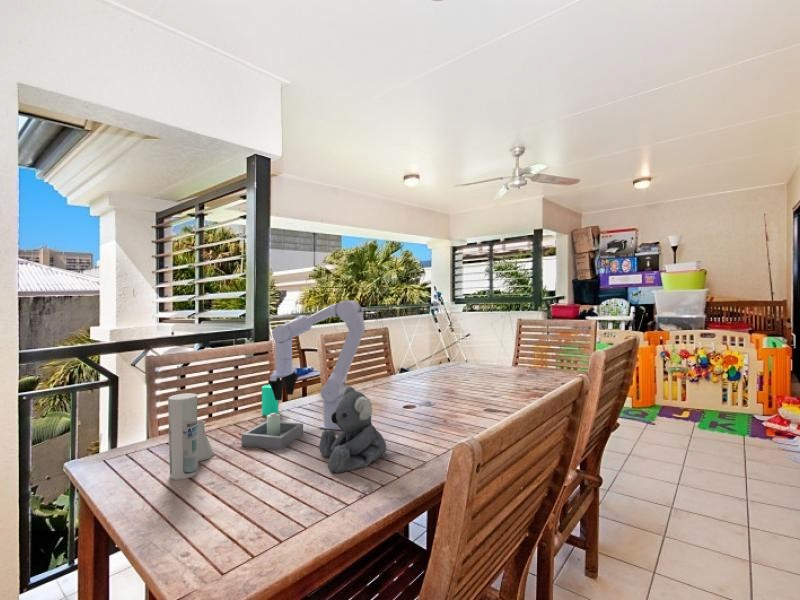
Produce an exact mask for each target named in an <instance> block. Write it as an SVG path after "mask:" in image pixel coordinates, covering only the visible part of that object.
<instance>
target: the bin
mask: <svg viewBox="0 0 800 600" xmlns="http://www.w3.org/2000/svg"><path fill="white" fill-rule="evenodd" d="M301 435H302V436H303V435H304V423H301V422H299V423H298V422H289V421H288V422H287V421H280V436H272V435H267V420H266V421H263V422H261V423H259V424H258V425H256V426H254V427H252V428H250V429H249V430H246V431H245V432H243V433H241V446H242V447H251V448H259V447H260V448H261V449H269V448H270V450H278V449H280V451H281V450H283V449H284V448H286V447H287V446H289V445H290V444H292V443H293V442H294V441H296V440H297V439H299V438H300V437H301ZM298 437H299V438H298ZM295 439H296V440H295ZM291 442H292V443H291ZM260 448H259V449H260Z"/></svg>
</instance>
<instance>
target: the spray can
mask: <svg viewBox="0 0 800 600" xmlns="http://www.w3.org/2000/svg"><path fill="white" fill-rule="evenodd" d="M167 405H168V406H167V407H168V411H167V412H168V443H169V444H168V445H169V447H168V448H169V449H168V451H169V455H168V459H169V478H170V479H171V480H176V481H177V480H179V481H180V480H185V479H188V478H192V477H194V476H195V475H196V474H197V473H198V470H199V469H198V468H199V465H198V458H197V421H198V395H197V393H191V392H188V393H187V392H186V393H178V394H174V395H171V396H169V397H168V398H167Z"/></svg>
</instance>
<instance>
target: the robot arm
mask: <svg viewBox="0 0 800 600" xmlns="http://www.w3.org/2000/svg"><path fill="white" fill-rule="evenodd" d="M331 317H332V318H337V317H338V318H339V319H341V321H343V323H345V325H346V327H347V329H348V332H347V335H346V337H345V340H344V343H343V345H342V348H341V350H340V353H339V355H338V358H337V360H336V363H335V366H334V368H333V370H332V373H331V375H330V376H329V377H328V379H327V381H326V383H325V384H324V385H323V386H322V388H321V389H320V396H321V398H322V405H323V406H322V408H323V409H322V412H323V414H322V417H323V423H322V424H320V425H319V426H318V428H319V429H324V430H325V429H326V430H338V431H342V430H341V429H340V428H339V427H338V425H337V424H334V423H333V422H332V419H331V417H332V414H333V413H334V412H335V411H336V409H337V406H338V404H339V403H340V402H341V400H342V398H343V397H342V392H343V389H344V388H345V387H347V386H346V383H347V379H348V374H349V371H350V368H351V366H352V362H354V357H355V355H356V353H357V351H358V348H359V346H360V343H361V341H362V338H363V336H364V333H365V329H366V327H365V321H364V310H363V308H362V306H361V305H360V304H359V302H358V301H357V300H353V299H351V300H342V301H340V302H337V303H334V304H331V305H328V306H326V307H325V308H322V309H320V310H319V311H317V312H315V313H313V314H311V315H309V316H308V315H305V314H303V315H302V314H298V315H296V316H295V318H294V319H292V320H290V321H289V320H287V321H285V322H284V324H280V325H277V326H275V327H274V328H273V330H272V334H271V335H272V336H271V337H272V338H273V340H274V343H275V345H274V346H275V347H274V350H275V352H274V353H275V354H274V355H275V359H274V361H275V370H272V374H270V375H269V379H268V381H267V384H268V385H269V384H270V386H271V388H272V390H273V393H274V397H275V400H278V401H282V399H283V391H284V387H285V393H286V395H288V396H292V395H293V394H294V390H295V386H296V382H297V380H298V378H299V377H300V375H299V373H298V372H297V371H298V370H297V369H298V368H297V367H293V339H294V338H295V337H297V336H301V335H302V334H304V333H306V332H308V331H311V329H312V326H313V325H315V324H317V323H319V322H321V321H324V320H327V319H328V318H331ZM282 379H283V380H282Z"/></svg>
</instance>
